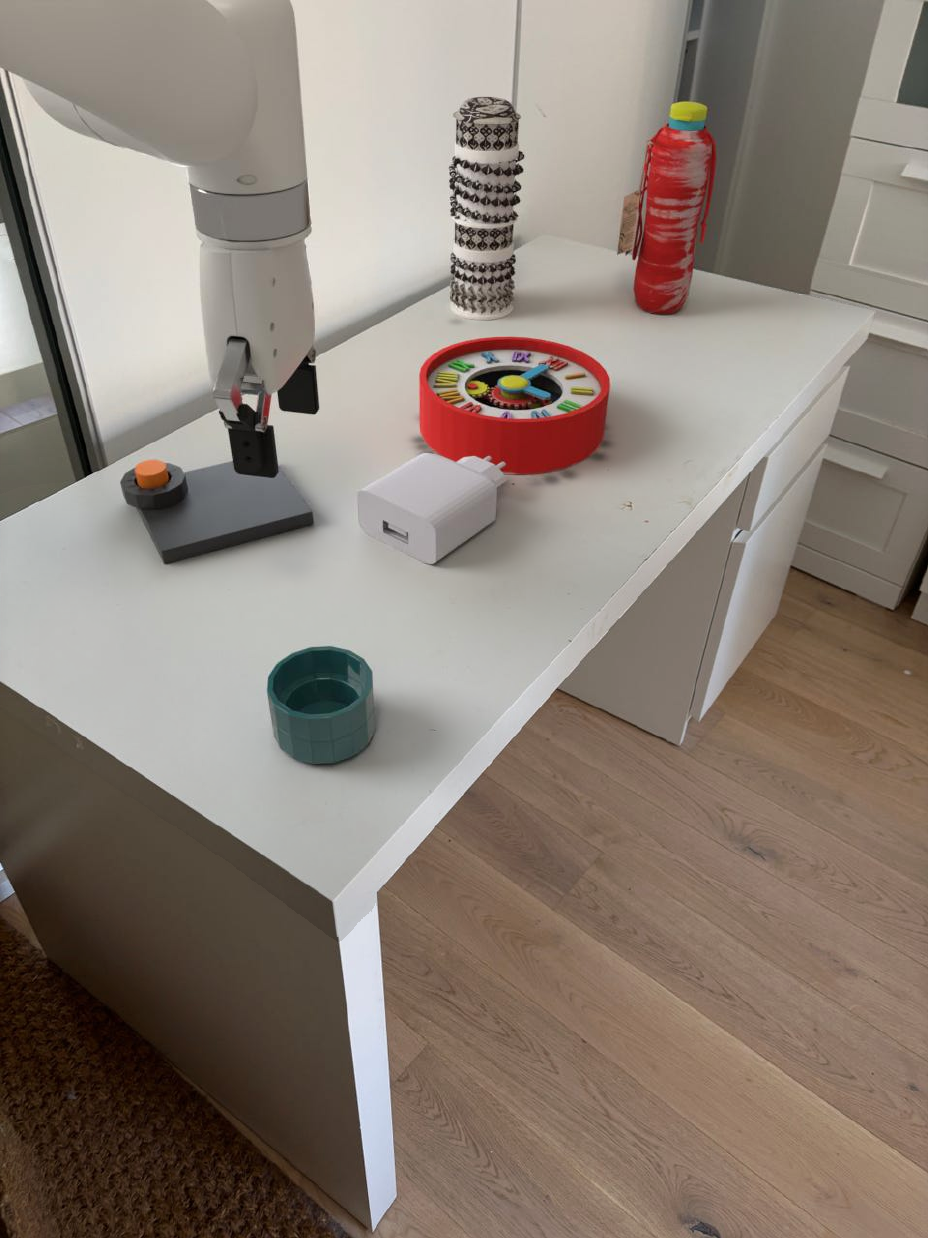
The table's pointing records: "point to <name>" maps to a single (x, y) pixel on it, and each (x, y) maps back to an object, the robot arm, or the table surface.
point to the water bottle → (670, 209)
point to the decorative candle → (484, 207)
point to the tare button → (151, 474)
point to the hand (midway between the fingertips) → (279, 441)
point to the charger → (431, 504)
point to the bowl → (321, 704)
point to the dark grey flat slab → (214, 509)
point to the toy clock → (513, 403)
